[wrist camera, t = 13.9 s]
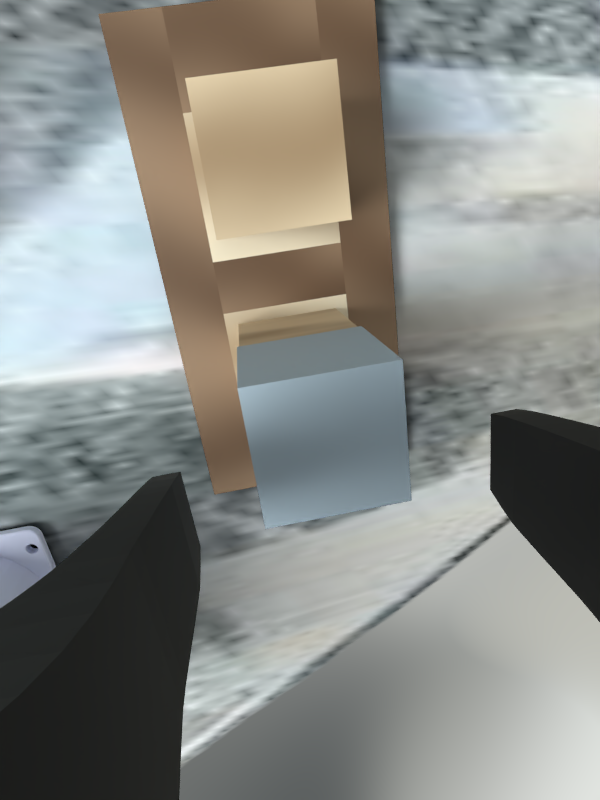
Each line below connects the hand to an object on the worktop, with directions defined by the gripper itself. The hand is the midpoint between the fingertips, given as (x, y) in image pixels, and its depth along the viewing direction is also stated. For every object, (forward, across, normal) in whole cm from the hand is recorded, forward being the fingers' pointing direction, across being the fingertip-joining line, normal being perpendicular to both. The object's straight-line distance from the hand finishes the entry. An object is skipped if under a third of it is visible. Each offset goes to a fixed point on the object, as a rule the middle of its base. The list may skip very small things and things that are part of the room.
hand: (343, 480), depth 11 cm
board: (+10, 0, -4) cm, 11 cm away
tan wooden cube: (+10, 0, -7) cm, 12 cm away
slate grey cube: (+5, 0, 0) cm, 5 cm away
